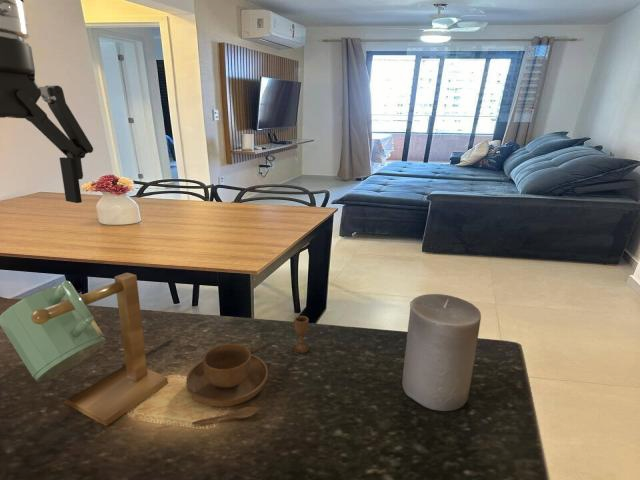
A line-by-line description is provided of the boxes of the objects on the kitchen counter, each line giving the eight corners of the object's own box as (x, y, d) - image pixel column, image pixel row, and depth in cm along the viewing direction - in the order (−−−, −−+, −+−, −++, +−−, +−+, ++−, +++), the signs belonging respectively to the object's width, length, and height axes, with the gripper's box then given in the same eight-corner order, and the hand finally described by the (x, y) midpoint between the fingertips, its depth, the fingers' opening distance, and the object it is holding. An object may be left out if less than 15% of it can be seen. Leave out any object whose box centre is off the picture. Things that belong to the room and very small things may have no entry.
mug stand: (19, 413, 50) (-8, 294, 46) (115, 360, 62) (101, 261, 58) (75, 448, 45) (51, 318, 41) (168, 382, 57) (157, 276, 53)
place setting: (191, 355, 64) (188, 323, 63) (306, 342, 69) (307, 313, 68) (181, 432, 48) (178, 393, 47) (333, 408, 53) (334, 372, 51)
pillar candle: (458, 372, 62) (471, 287, 58) (476, 415, 53) (493, 318, 48) (397, 367, 63) (406, 283, 58) (405, 409, 53) (416, 313, 49)
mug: (27, 390, 48) (-10, 331, 49) (92, 356, 55) (59, 305, 56) (62, 350, 41) (19, 283, 42) (131, 317, 49) (93, 260, 50)
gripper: (-155, 3, 34) (-91, 234, 40) (108, 54, 55) (123, 199, 61) (-183, 11, 37) (-119, 223, 43) (76, 56, 58) (94, 193, 64)
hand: (23, 209), depth 52 cm, fingers open, 13 cm apart
